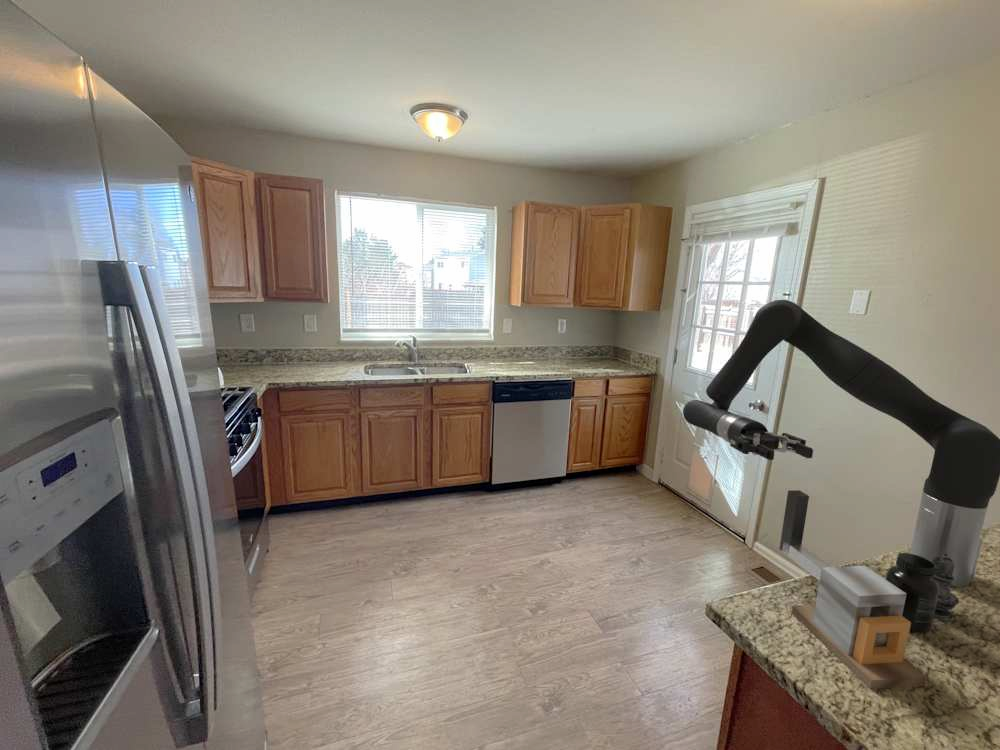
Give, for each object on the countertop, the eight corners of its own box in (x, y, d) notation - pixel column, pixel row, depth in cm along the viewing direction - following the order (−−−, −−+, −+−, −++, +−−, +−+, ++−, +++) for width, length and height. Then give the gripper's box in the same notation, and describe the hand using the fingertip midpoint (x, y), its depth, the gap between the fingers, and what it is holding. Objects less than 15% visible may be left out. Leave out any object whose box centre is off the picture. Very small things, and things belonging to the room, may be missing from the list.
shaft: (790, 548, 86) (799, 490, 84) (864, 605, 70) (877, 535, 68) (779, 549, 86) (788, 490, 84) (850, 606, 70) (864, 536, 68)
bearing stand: (836, 610, 79) (847, 551, 77) (925, 685, 64) (941, 614, 62) (791, 612, 78) (800, 553, 76) (870, 688, 63) (884, 617, 61)
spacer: (893, 653, 68) (901, 615, 66) (902, 661, 66) (911, 622, 65) (852, 656, 67) (860, 617, 66) (861, 664, 66) (869, 624, 64)
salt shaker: (964, 624, 76) (979, 564, 74) (926, 618, 77) (939, 559, 75) (938, 601, 82) (951, 545, 80) (903, 596, 83) (914, 541, 81)
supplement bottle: (925, 616, 78) (938, 557, 76) (935, 640, 72) (950, 578, 70) (876, 601, 82) (887, 544, 80) (882, 623, 76) (895, 563, 74)
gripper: (714, 417, 102) (761, 438, 86) (769, 415, 103) (826, 435, 87) (712, 447, 103) (757, 473, 87) (767, 445, 105) (822, 470, 89)
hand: (791, 454), depth 87 cm, fingers open, 8 cm apart
